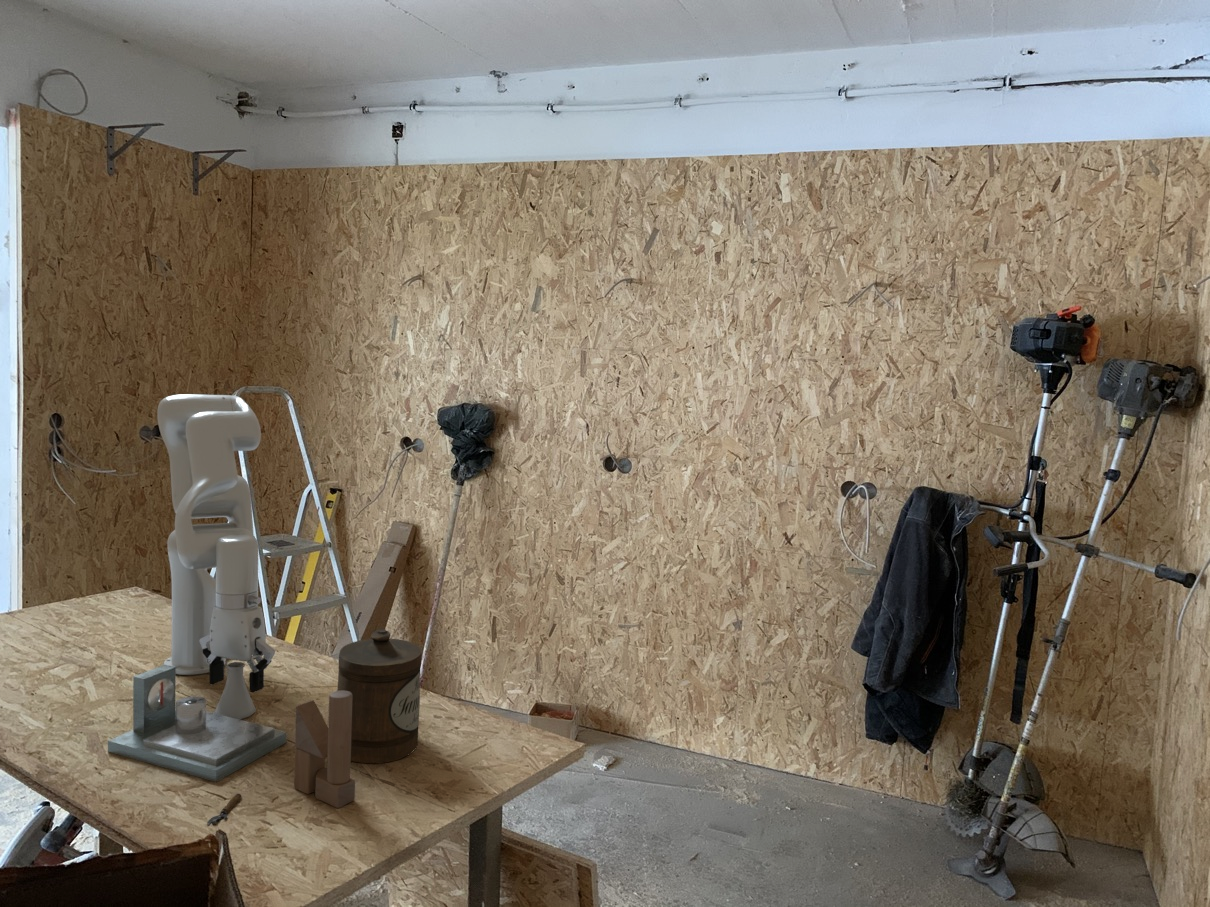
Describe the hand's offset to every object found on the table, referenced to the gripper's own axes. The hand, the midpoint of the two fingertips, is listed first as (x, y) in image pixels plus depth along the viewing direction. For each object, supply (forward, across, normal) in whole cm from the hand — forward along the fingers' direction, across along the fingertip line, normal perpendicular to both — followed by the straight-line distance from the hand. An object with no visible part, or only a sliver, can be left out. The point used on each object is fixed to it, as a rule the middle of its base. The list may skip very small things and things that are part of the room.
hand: (236, 686), depth 173 cm
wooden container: (+7, -31, -2) cm, 32 cm away
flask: (+6, +1, 0) cm, 6 cm away
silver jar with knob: (+3, -2, +14) cm, 14 cm away
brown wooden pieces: (+7, -34, +18) cm, 39 cm away
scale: (+6, -4, +14) cm, 15 cm away
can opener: (+7, -24, +28) cm, 38 cm away
